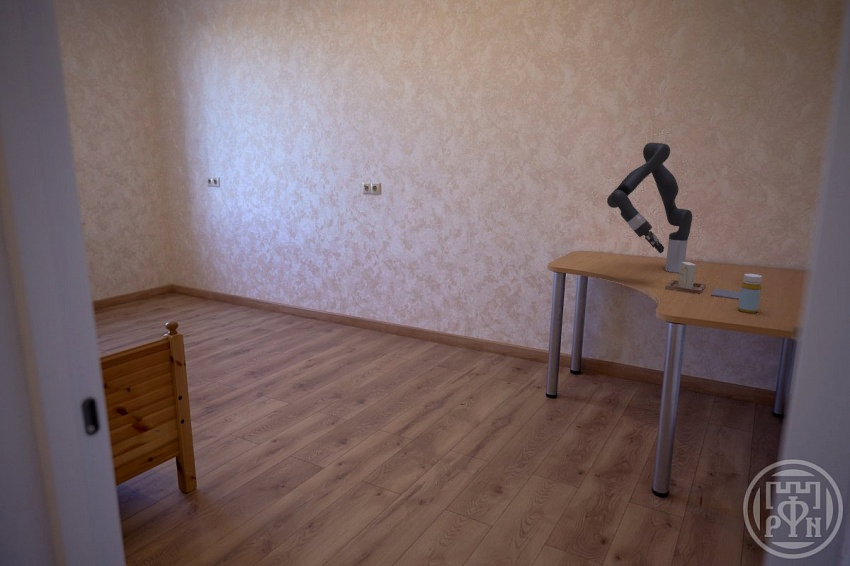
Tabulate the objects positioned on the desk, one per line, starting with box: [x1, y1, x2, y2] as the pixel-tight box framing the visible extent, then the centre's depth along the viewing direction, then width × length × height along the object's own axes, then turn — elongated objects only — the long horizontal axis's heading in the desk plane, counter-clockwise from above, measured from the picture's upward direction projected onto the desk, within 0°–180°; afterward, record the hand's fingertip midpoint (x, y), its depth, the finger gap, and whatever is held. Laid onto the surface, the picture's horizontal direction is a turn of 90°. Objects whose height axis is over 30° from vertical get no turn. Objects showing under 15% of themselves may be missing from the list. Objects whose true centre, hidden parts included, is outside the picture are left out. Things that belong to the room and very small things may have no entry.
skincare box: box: [677, 261, 697, 289], centre depth 263 cm, size 6×4×12 cm
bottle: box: [737, 273, 763, 314], centre depth 227 cm, size 7×7×15 cm
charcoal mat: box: [710, 288, 741, 301], centre depth 254 cm, size 13×12×1 cm
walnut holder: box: [664, 279, 706, 295], centre depth 264 cm, size 15×15×2 cm
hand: (662, 250), depth 265 cm, fingers open, 8 cm apart
